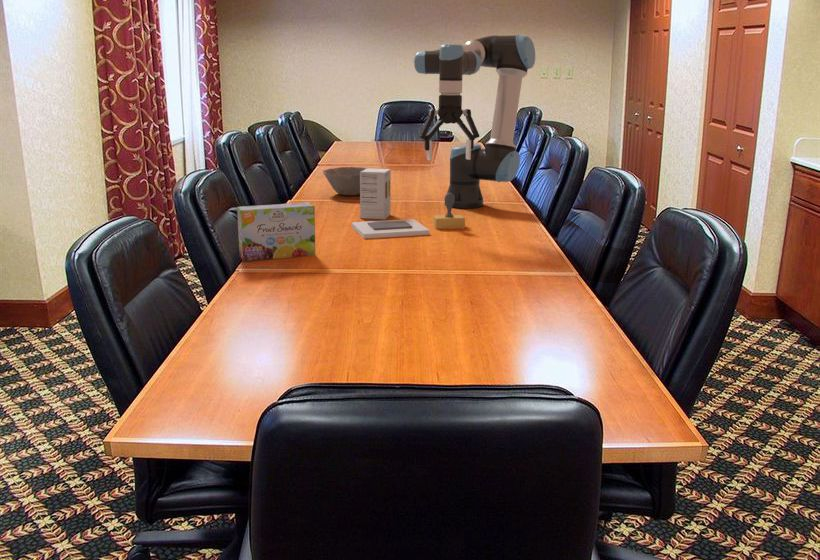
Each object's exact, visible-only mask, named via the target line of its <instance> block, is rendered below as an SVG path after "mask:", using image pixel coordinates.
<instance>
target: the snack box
mask: <svg viewBox="0 0 820 560" xmlns="http://www.w3.org/2000/svg"><path fill="white" fill-rule="evenodd" d="M315 209H316V208H315V205H314V204H312V203H311V202H294V203H279V204H278V203H277V204H264V205H263V204H261V205H247V206H245V205H244V206H243V205H242V206H237V207H236V211H237V213H236V214H237V231H238V235H237V236H238V251H239V258H240V259H241V261H242V262H251V261H262V260H263V261H265V260H274V259H276V260H277V259H286V258H298V257H299V258H300V257H309V256H316V212H315V211H316V210H315Z"/></svg>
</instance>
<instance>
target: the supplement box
mask: <svg viewBox="0 0 820 560" xmlns="http://www.w3.org/2000/svg"><path fill="white" fill-rule="evenodd" d="M391 179H392V178H391V169H390V168H389V169H388V168H369V169H365V170H363V171H361V172H360V194H359V195H360V196H359V200H360V201H359V202H360V203H359V205H360V206H359V209H360V210H359V211H360V213H359V215H360V216H359V218H360V219H368V220H369V219H371V220H382V221H385V220H386V219H387V218H388V217H389V216H391Z"/></svg>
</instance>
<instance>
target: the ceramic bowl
mask: <svg viewBox="0 0 820 560" xmlns="http://www.w3.org/2000/svg"><path fill="white" fill-rule="evenodd" d="M365 169H370V167H369V168H366V167H360V166H359V167H357V166H356V167H355V166H345V167H343V166H341V167H334V168H328V169H327V168H326V169H324V170H322V173H323V175H324V176H325V178H326V180H327V181H328V183H329V184H330V186H331V188H332V189H333V191H335V192H336V193H337V194H338V195H342V196H358V195H360V172H361V171H363V170H365Z"/></svg>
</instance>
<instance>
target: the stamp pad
mask: <svg viewBox="0 0 820 560" xmlns="http://www.w3.org/2000/svg"><path fill="white" fill-rule="evenodd" d="M350 224H351V228H352V229H353V230H354V231H355V232H356V233H358V234H359V235H360V237H362V239H364V240H366V239H378V238H380V239H381V238H394V237H413V236H428V235H430V229H429V228H427V227H426V226H424V225H423V224H422V223H420V222H418V220H416V219H414V218H409V219H408V218H407V219H406V218H405V219H404V218H403V219H389V220H386V219H385V220H369V221H352V222H351V223H350Z"/></svg>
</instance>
